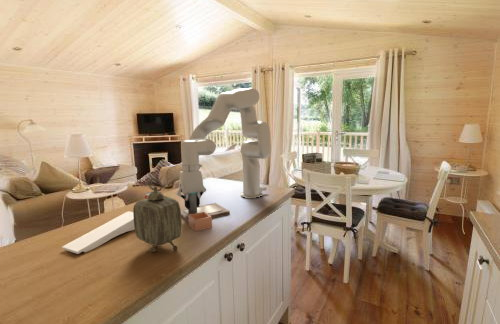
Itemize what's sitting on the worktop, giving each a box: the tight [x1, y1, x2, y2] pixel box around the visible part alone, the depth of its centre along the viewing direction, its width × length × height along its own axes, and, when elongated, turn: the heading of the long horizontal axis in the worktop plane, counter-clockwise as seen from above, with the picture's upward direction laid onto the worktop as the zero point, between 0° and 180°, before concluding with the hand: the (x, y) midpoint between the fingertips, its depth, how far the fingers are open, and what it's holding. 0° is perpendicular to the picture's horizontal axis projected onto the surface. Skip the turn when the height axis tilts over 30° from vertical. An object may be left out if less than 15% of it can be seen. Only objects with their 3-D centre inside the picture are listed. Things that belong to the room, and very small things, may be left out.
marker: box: [188, 192, 197, 214], centre depth 125 cm, size 4×4×10 cm
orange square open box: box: [188, 212, 213, 232], centre depth 114 cm, size 7×7×4 cm
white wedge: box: [61, 210, 135, 255], centre depth 105 cm, size 10×7×28 cm
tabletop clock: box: [132, 177, 183, 253], centre depth 93 cm, size 14×9×25 cm, turn 56°
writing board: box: [180, 202, 231, 224], centre depth 129 cm, size 20×15×2 cm
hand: (192, 206), depth 125 cm, fingers closed on marker, 4 cm apart
